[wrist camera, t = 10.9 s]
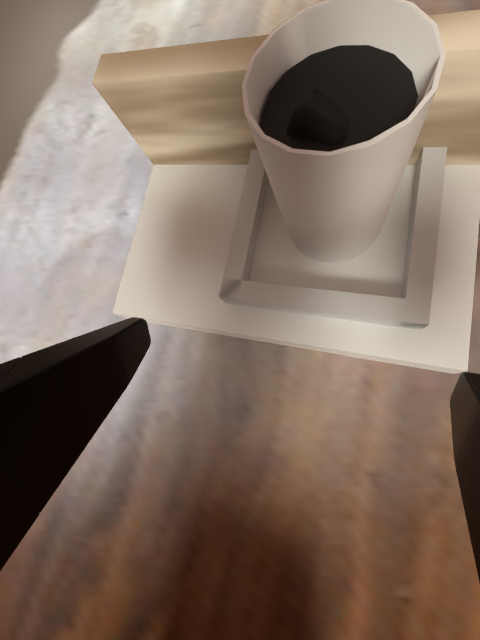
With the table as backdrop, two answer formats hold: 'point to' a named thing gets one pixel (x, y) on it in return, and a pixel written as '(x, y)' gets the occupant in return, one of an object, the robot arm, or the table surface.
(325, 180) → the white coffee cup
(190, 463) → the table surface
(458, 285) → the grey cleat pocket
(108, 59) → the ash wall board
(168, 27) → the table surface
